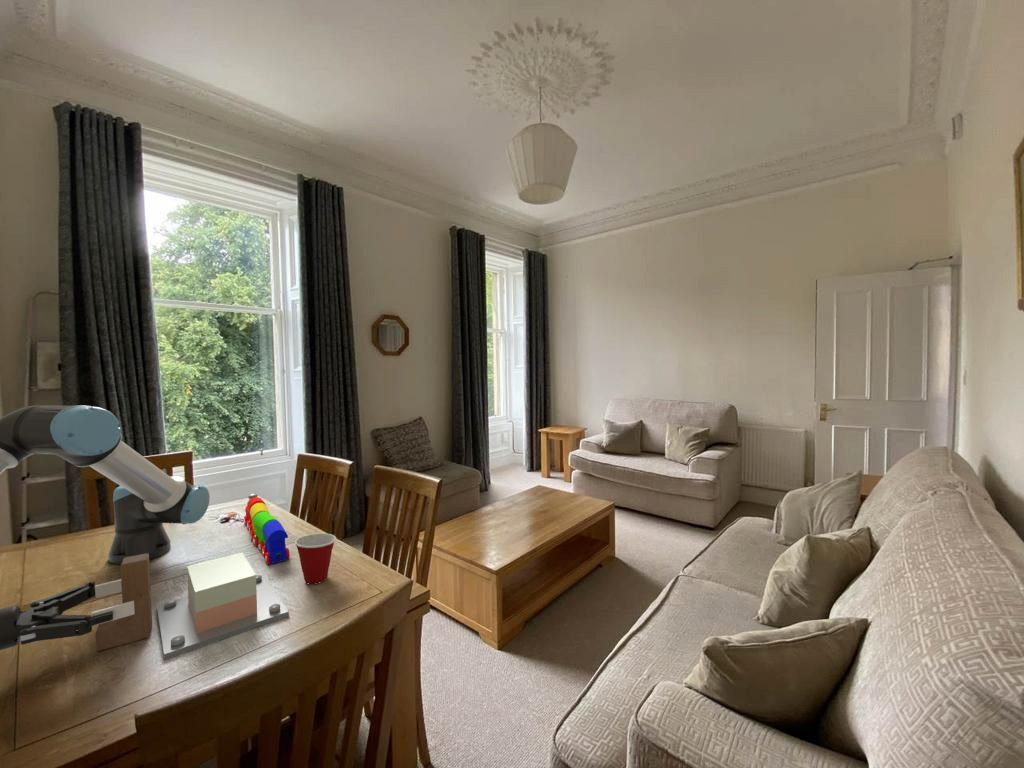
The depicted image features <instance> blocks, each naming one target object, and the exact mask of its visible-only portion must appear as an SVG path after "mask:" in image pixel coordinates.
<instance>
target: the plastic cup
mask: <svg viewBox="0 0 1024 768" xmlns="http://www.w3.org/2000/svg"><path fill="white" fill-rule="evenodd" d="M336 541H337V537H336V535H334V534H331V533H312V534H306V535H302V536H299V537H297V538H296V539H295V540H294V544H295V546H296V549H297V552H298V555H299V562H300V566H301V572H302V575H303V579H304V583H305V582H306V583H309V584H315V583H319V582H322V581H324V580H325V579H326V578H328V575H329V569H330V564H331V558H332V552H333V548H334V545H335V542H336ZM326 580H327V579H326ZM326 580H325V581H326ZM325 581H324V582H325ZM306 583H305V584H306ZM322 583H323V582H322ZM309 584H308V585H309ZM319 584H320V583H319ZM315 585H316V584H315Z"/></svg>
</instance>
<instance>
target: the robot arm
mask: <svg viewBox="0 0 1024 768" xmlns="http://www.w3.org/2000/svg"><path fill="white" fill-rule="evenodd" d="M119 425H120V422H119V420H118V418H117V417H116V416H115V414H114V413H112V412H111V411H110V410H107V409H105V408H103V407H98V406H91V405H84V404H83V405H82V404H80V405H46V404H45V405H43V404H39V405H38V404H37V405H36V404H35V405H30V406H25V407H21V408H19V409H16V410H13V411H11V412H10V413H7V414H5V415H4V416H1V417H0V475H1V474H3V472H4V471H6V469H13V468H16V467H17V466H18V465H19V464H20V463H21V462H22V461H24V460H25V459H26V458H28V457H30V456H33V455H55V456H58V457H59V458H61V459H63V461H67V462H68V463H70V464H71V465H73V466H75V467H78V468H86V467H90V468H92V469H93V470H95V471H96V472H98V473H99V474H101V475H103V476H104V477H106V478H107V479H109V480H110V481H112V482H113V483H116V485H118V487H116V488H115V489H114V490H113V496H112V509H113V518H114V519H113V521H114V522H113V523H114V535H113V536H114V537H113V539H112V542H111V545H110V548H109V551H108V554H107V555H108V562H109V564H110V563H111V564H114V565H121V564H122V561H123V559H124V558H125V557H130V556H136V555H141V554H146V553H148V554H149V560H151V559H154V558H157V557H160V556H161V555H164V554H165V553H167V552H168V551H170V550H171V539H170V537H169V535H168V533H167V531H166V528H165V527H164V524H177V525H178V524H179V525H180V524H181V525H187V524H188V525H190V524H195V523H197V522H198V521H200V520H201V519H202V518H203V517H204V516H205V515H206V512H207V511H208V508H209V506H210V505H209V504H210V491H209V490H208V488H207V487H206V486H204V485H201V484H196V485H194V484H191V483H189V482H188V481H186V480H185V479H184V478H183V477H180V476H176V475H173V476H172V475H171V476H170V475H168V473H166V472H164V471H163V470H162V469H161V468H159V467H158V466H156V465H155V464H154V463H152V462H151V461H149V460H148V459H147V458H145V457H144V456H143V455H142V454H140V453H139V452H137V450H134V449H133V448H132V447H131V446H129V445H128V444H127V443H125V442H124V440H123V441H122V437H123V436H122V430H121V427H119ZM118 593H122V586H121V578H120V579H119V578H118V579H117V580H112V581H111V580H110V581H108V582H104V583H100V584H96V581H90V582H86V583H84V584H81V585H78V586H77V587H74V588H73V587H72V588H70V589H67V590H66V591H62V592H60V593H57V594H54V595H52V596H49V597H47V598H43V599H40V600H39V599H38V600H36V601H32V602H30V604H29V605H30V609H28V610H25V611H22V610H21V607H20V606H19V605H12V606H9V607H5V608H0V651H2V650H5V649H9V648H13V647H16V646H17V645H18V644H19V643H20V645H22V646H23V645H26V644H31V643H36V642H41V641H49V640H57V639H63V638H64V639H65V638H73V637H79V636H84V635H86V634H87V635H88V634H90V633H91V632H93V627H94V626H95V627H96V626H99V624H102V623H106V622H109V621H113V620H116V619H120V618H123V617H127V616H130V615H134V614H135V612H134V601H130V602H126V603H123V604H122V603H120V604H115V605H112V606H108V607H105V608H102V609H98V610H94V611H93V610H92V611H91V614H63V613H64V612H66V611H68V610H70V609H72V608H73V607H76V606H78V605H80V604H82V603H84V602H86V601H88V600H90V599H92V598H94V597H95V599H99V598H102V597H106V596H111V595H113V594H118Z"/></svg>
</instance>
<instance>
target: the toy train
mask: <svg viewBox="0 0 1024 768" xmlns="http://www.w3.org/2000/svg"><path fill="white" fill-rule="evenodd" d="M244 511H245V515H244V517H243V523H244V525H245V526H246V527H247V530H248V532H249V535H250V540H252V541H251V542H252V543H253V546H254V547H258V550H259V552H260V551H261V552H260V553H262V557H263V558H264V559H265V563H266V565H267V564H268V565H271V564H274V563H279V562H283V561H288V560H289V559H291V554H290V549H289V547H287V544H286V539H288V538H289V536H288V532H287V531H286V530H285V528H284V526H283V525H282V523H281V522H280V521H279V520H278V519H277V518H275V517H274V516H273V515H271V513H270V511H269V509H268V506H267V505H266V502H265V501H264V500H263V499H262V498H261V497H259V496H258V494H257V493H251V494H249V495H248V501H247V503H246V506H245V508H244ZM287 559H288V560H287Z"/></svg>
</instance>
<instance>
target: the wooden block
mask: <svg viewBox="0 0 1024 768" xmlns="http://www.w3.org/2000/svg"><path fill="white" fill-rule="evenodd" d="M150 569H151V568H150V559H149V554H148V553H146V554H141V555H136V556H130V557H125V558H124V559H123V561H122V564H120V579H121V586H122V592H121V604H123V603H126V602H130V601H134V612H135V614H134V615H130V616H127V617H123V618H120V619H116V620H113V621H109V622H106V623H102V624H99V625H97V627H96V632H95V644H96V645H95V646H96V651H97V652H100V651H104V650H108V649H111V648H115V647H119V646H122V645H125V644H129V643H134V642H136V641H140V640H144V639H148V638H150V637H151V635H152V630H153V617H152V615H153V613H152V594H151V589H152V588H151V570H150Z"/></svg>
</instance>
